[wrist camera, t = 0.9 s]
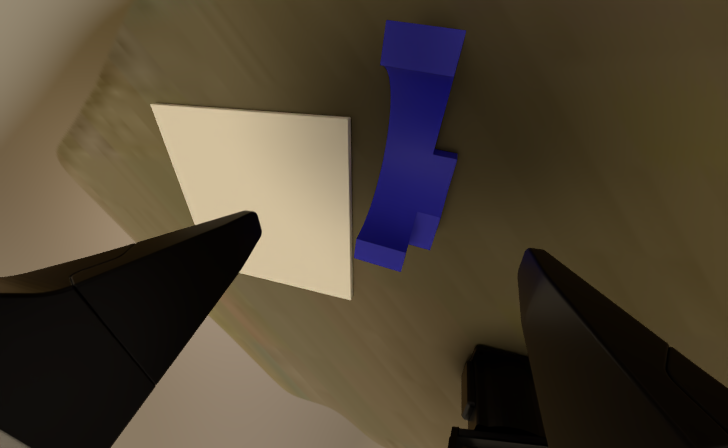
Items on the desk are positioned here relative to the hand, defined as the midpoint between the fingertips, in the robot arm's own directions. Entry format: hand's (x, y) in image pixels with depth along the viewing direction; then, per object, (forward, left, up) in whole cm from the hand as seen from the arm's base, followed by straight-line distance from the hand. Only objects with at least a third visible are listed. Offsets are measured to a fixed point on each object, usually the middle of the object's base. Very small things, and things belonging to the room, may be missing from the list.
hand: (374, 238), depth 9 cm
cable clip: (0, 0, -12) cm, 12 cm away
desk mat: (+13, +7, -11) cm, 19 cm away
